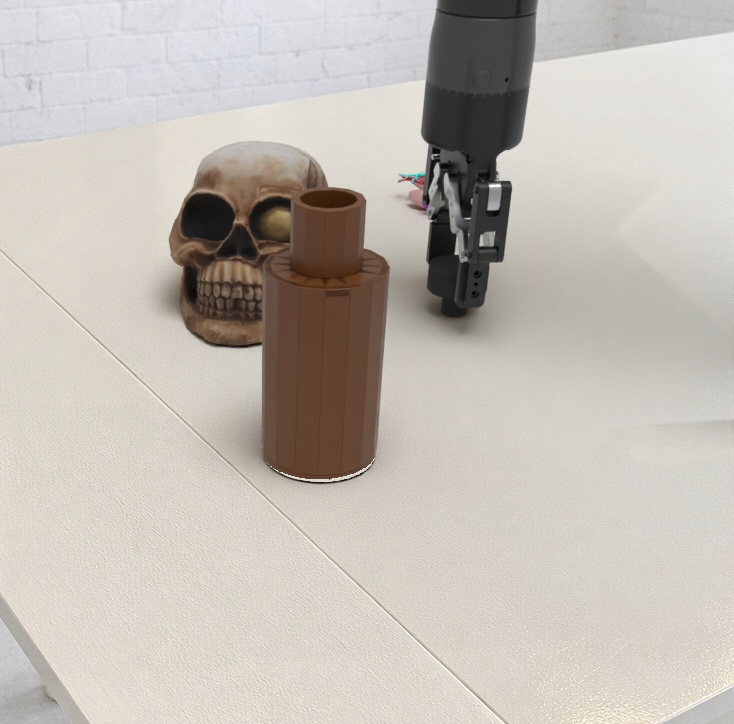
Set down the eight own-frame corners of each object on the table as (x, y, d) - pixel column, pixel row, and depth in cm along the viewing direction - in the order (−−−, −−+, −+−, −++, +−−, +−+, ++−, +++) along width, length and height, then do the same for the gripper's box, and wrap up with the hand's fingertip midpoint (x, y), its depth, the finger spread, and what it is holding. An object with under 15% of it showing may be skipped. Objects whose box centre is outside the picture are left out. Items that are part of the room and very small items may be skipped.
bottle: (362, 422, 77) (378, 175, 68) (386, 479, 71) (407, 217, 62) (255, 429, 77) (256, 181, 67) (270, 487, 71) (273, 223, 61)
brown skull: (215, 352, 86) (209, 173, 80) (133, 296, 100) (123, 139, 94) (389, 321, 92) (396, 151, 86) (289, 272, 106) (289, 123, 100)
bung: (474, 298, 95) (479, 252, 92) (491, 321, 91) (497, 274, 89) (418, 301, 94) (422, 255, 92) (433, 325, 90) (437, 278, 88)
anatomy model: (382, 162, 112) (446, 163, 108) (417, 143, 117) (478, 144, 114) (384, 213, 114) (447, 217, 111) (418, 193, 120) (479, 195, 116)
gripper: (562, 99, 77) (527, 319, 86) (498, 53, 88) (472, 251, 97) (455, 102, 76) (430, 324, 85) (404, 55, 88) (387, 254, 97)
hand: (453, 284), depth 91 cm, fingers open, 8 cm apart
